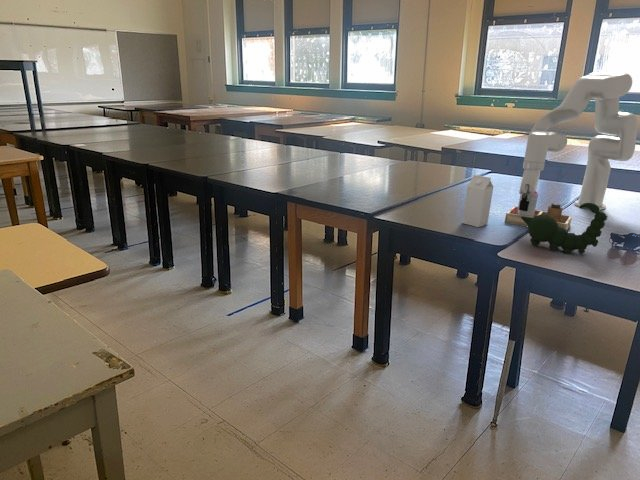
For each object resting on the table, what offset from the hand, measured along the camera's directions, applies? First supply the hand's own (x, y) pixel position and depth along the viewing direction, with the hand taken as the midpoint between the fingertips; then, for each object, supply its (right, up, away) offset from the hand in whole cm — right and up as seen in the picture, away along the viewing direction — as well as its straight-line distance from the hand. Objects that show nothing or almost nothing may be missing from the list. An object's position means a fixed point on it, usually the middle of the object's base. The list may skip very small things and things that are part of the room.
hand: (525, 207), depth 192 cm
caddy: (+4, -6, -1) cm, 8 cm away
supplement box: (0, -5, +2) cm, 5 cm away
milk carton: (-21, -7, -3) cm, 23 cm away
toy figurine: (-1, -16, -27) cm, 31 cm away
